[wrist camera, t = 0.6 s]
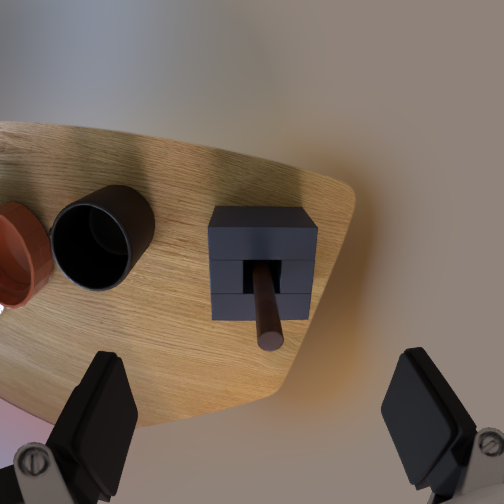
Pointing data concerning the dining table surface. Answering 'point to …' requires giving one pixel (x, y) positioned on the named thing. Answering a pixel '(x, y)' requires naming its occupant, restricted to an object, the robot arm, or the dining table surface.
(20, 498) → the robot arm
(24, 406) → the dining table surface
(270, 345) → the stick
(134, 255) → the mug
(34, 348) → the dining table surface
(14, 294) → the bowl
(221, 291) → the holder
